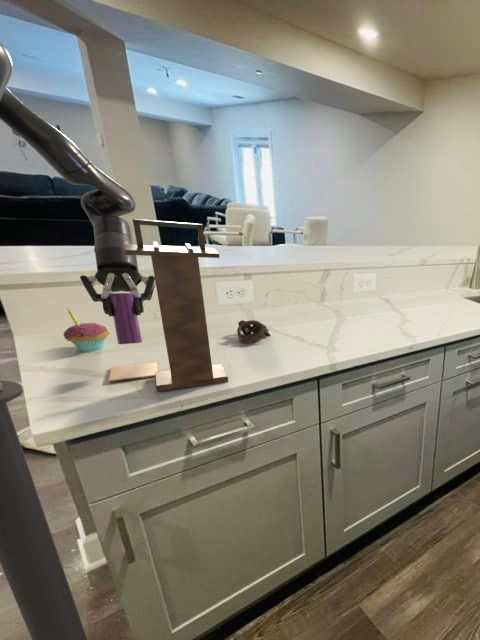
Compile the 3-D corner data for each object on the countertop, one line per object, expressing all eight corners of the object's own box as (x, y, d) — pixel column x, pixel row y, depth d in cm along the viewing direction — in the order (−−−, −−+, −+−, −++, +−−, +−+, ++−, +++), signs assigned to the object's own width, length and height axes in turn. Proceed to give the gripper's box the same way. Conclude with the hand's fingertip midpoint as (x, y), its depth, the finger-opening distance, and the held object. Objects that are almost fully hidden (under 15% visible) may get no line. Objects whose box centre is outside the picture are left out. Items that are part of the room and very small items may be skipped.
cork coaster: (109, 382, 90) (108, 380, 90) (111, 368, 96) (110, 366, 96) (158, 376, 96) (158, 374, 95) (157, 363, 102) (157, 362, 102)
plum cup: (110, 295, 93) (108, 293, 89) (134, 294, 95) (133, 292, 92) (119, 344, 94) (117, 344, 91) (142, 342, 97) (141, 342, 93)
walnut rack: (151, 392, 88) (118, 220, 75) (150, 377, 94) (120, 216, 81) (232, 381, 98) (216, 227, 85) (227, 368, 104) (211, 223, 91)
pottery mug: (280, 341, 128) (272, 325, 121) (256, 360, 123) (247, 344, 116) (254, 324, 130) (245, 308, 124) (230, 342, 125) (219, 326, 118)
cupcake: (73, 357, 99) (58, 313, 95) (65, 347, 104) (51, 304, 99) (116, 349, 106) (104, 308, 101) (108, 340, 110) (96, 300, 106)
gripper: (154, 264, 103) (164, 320, 99) (79, 263, 94) (86, 323, 90) (151, 247, 98) (161, 305, 94) (71, 243, 89) (78, 307, 85)
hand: (124, 313), depth 92 cm, fingers closed on plum cup, 4 cm apart
